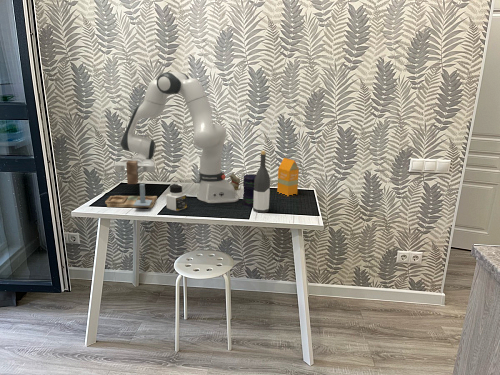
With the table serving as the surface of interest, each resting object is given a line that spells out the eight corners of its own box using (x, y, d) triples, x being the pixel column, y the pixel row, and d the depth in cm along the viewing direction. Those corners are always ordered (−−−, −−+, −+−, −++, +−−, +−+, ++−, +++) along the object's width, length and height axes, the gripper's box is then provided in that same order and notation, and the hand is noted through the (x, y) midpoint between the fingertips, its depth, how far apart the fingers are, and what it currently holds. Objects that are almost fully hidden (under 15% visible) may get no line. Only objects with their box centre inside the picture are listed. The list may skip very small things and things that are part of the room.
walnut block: (138, 181, 211) (137, 160, 208) (136, 184, 207) (135, 162, 204) (129, 181, 211) (128, 160, 208) (127, 183, 207) (126, 162, 203)
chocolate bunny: (238, 191, 233) (238, 174, 230) (224, 190, 235) (224, 173, 232) (240, 188, 238) (240, 172, 235) (227, 187, 240) (227, 171, 237)
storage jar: (262, 207, 207) (263, 179, 203) (242, 207, 207) (243, 178, 203) (261, 201, 217) (262, 174, 213) (242, 201, 217) (243, 173, 212)
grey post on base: (152, 201, 204) (151, 182, 201) (149, 206, 196) (148, 187, 194) (136, 200, 203) (136, 182, 200) (133, 205, 196) (132, 186, 193)
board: (158, 198, 216) (157, 194, 215) (153, 207, 203) (152, 202, 202) (113, 198, 215) (112, 193, 214) (105, 207, 201) (104, 201, 201)
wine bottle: (257, 206, 209) (260, 148, 200) (271, 209, 205) (274, 150, 196) (249, 211, 202) (251, 151, 194) (264, 214, 198) (266, 153, 190)
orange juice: (287, 196, 227) (289, 161, 221) (276, 192, 233) (278, 158, 227) (297, 194, 231) (299, 159, 226) (286, 190, 238) (288, 156, 232)
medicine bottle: (176, 211, 198) (175, 187, 195) (166, 208, 203) (165, 185, 199) (186, 207, 204) (186, 184, 201) (176, 204, 208) (176, 182, 205)
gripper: (118, 158, 218) (110, 164, 205) (156, 159, 219) (151, 165, 206) (118, 169, 220) (111, 176, 207) (157, 170, 221) (152, 177, 208)
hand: (132, 170), depth 206 cm, fingers closed on walnut block, 4 cm apart
